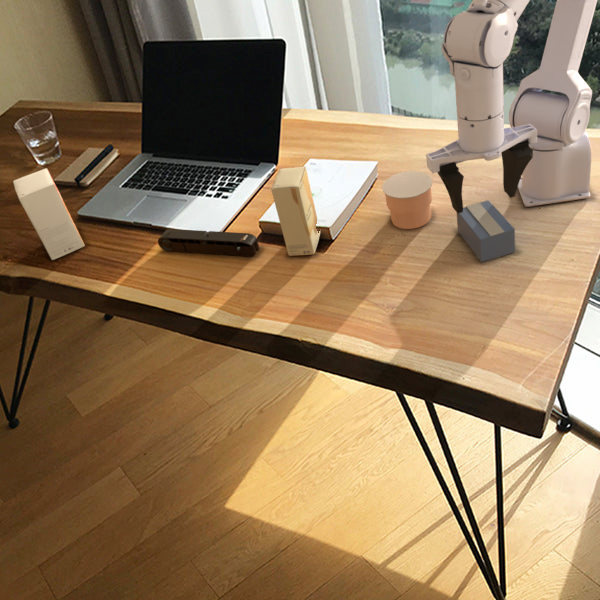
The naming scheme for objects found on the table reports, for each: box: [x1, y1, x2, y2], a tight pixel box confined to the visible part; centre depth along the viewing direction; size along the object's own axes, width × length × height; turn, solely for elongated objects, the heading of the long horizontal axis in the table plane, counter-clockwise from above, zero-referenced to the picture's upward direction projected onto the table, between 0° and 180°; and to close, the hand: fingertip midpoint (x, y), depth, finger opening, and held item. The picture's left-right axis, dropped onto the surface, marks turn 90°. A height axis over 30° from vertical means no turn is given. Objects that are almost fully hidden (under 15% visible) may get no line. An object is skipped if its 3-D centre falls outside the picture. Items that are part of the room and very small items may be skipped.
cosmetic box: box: [270, 166, 321, 257], centre depth 104 cm, size 6×4×12 cm
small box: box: [12, 168, 86, 261], centre depth 119 cm, size 8×6×13 cm
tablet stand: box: [157, 228, 260, 257], centre depth 111 cm, size 18×3×3 cm, turn 68°
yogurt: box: [381, 170, 433, 230], centre depth 105 cm, size 8×8×6 cm
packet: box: [456, 199, 516, 263], centre depth 97 cm, size 8×5×4 cm, turn 12°
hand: (483, 201), depth 94 cm, fingers open, 7 cm apart
